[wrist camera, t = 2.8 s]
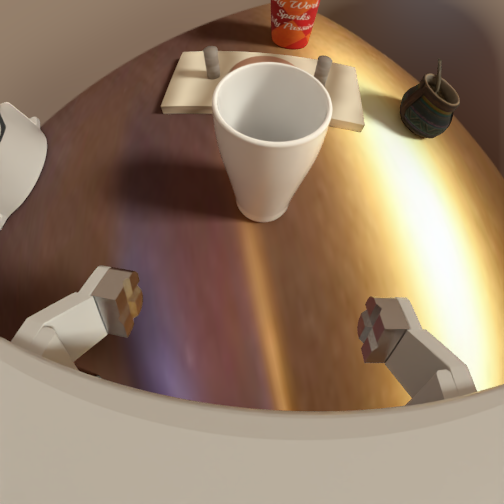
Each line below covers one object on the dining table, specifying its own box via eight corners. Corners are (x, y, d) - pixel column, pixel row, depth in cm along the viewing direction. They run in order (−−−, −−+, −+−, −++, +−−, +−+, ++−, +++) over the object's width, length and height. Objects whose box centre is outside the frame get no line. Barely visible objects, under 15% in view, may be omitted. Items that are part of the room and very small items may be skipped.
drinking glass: (217, 185, 28) (192, 81, 14) (275, 160, 29) (293, 50, 14) (247, 243, 27) (243, 167, 13) (308, 213, 28) (358, 124, 13)
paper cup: (262, 49, 33) (265, -29, 19) (267, 25, 35) (270, -43, 21) (315, 57, 33) (333, -19, 19) (314, 32, 34) (328, -35, 21)
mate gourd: (404, 143, 30) (441, 95, 20) (386, 99, 32) (412, 50, 22) (443, 147, 30) (482, 107, 20) (425, 105, 32) (454, 63, 22)
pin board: (163, 113, 30) (150, 81, 25) (184, 59, 33) (177, 29, 27) (360, 132, 30) (377, 102, 24) (352, 74, 32) (363, 45, 26)
